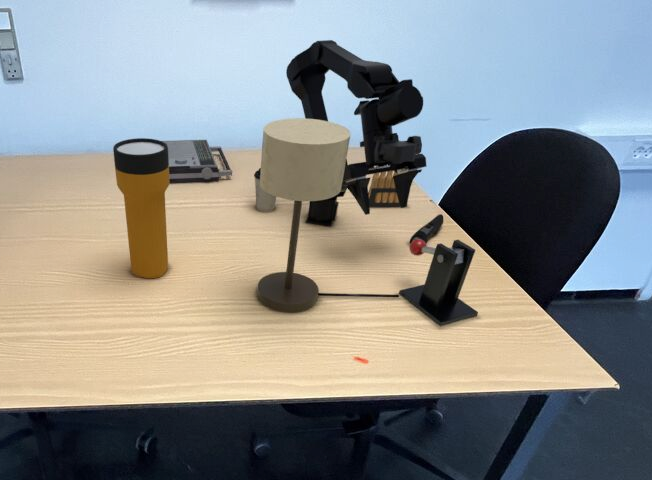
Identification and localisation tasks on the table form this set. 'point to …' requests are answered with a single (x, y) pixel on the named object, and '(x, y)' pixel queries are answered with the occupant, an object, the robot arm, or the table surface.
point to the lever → (432, 250)
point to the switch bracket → (443, 286)
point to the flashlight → (144, 202)
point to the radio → (194, 162)
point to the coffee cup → (263, 196)
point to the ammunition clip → (383, 191)
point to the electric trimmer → (428, 229)
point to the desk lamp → (300, 195)
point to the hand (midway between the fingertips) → (385, 211)
